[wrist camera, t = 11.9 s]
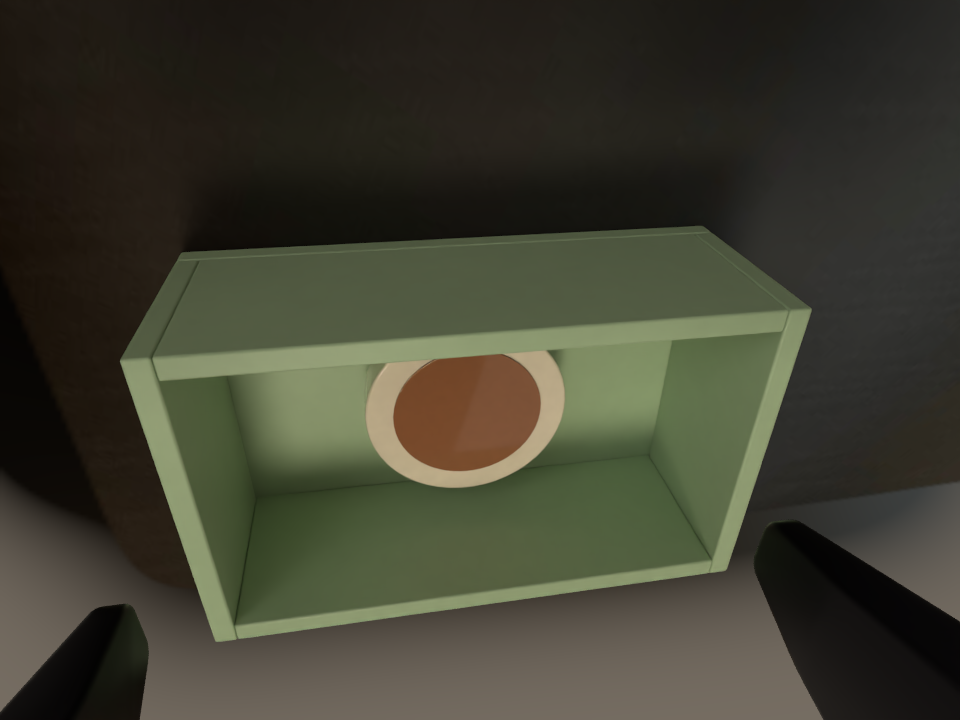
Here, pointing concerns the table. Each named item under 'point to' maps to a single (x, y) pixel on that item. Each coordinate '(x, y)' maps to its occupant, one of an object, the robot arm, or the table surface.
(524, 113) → the table surface
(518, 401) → the brown-topped cream cylinder
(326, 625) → the tub
